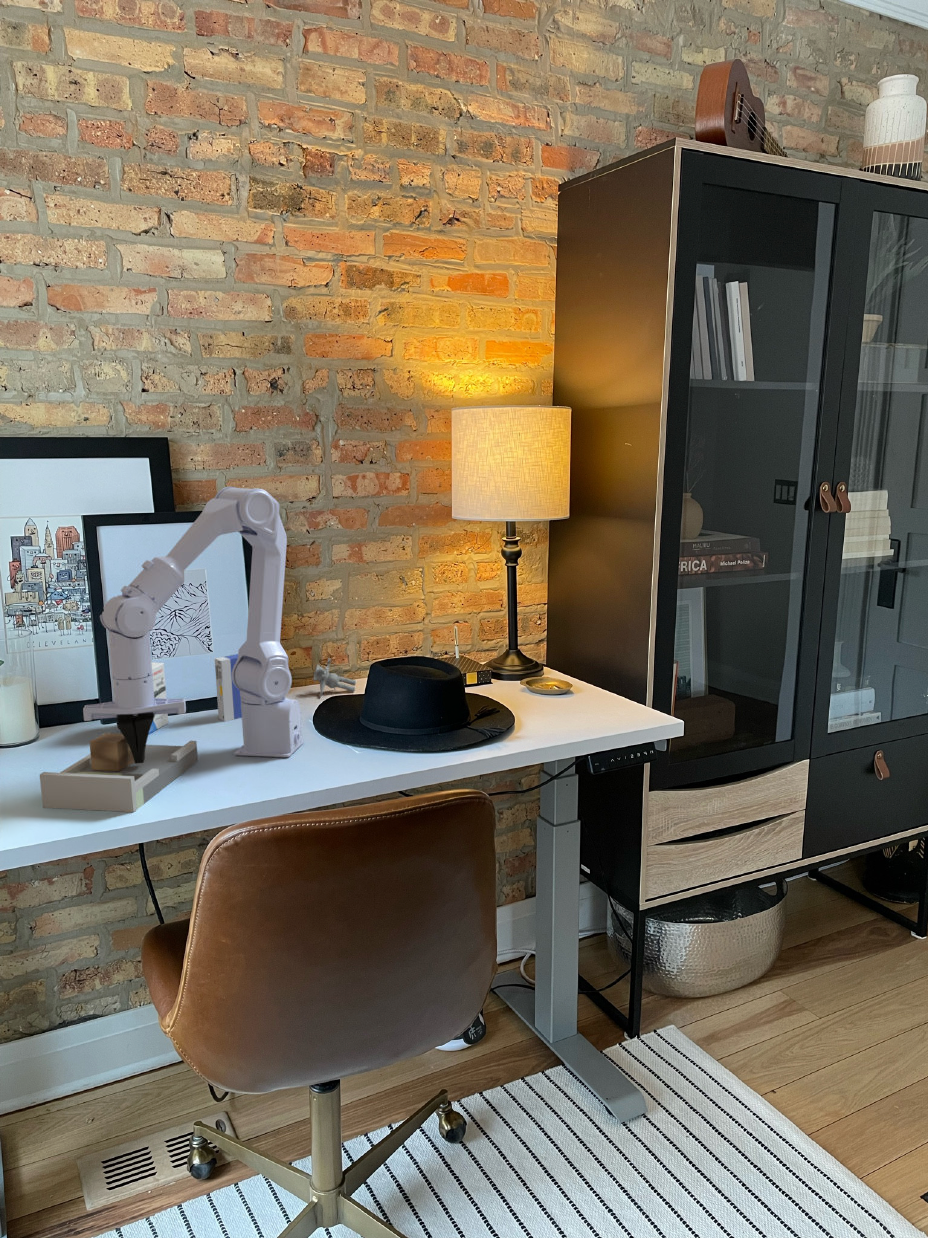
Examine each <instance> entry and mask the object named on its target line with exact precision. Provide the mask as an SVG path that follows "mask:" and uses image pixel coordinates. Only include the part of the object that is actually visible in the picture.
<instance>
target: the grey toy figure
mask: <svg viewBox="0 0 928 1238" xmlns="http://www.w3.org/2000/svg"><path fill="white" fill-rule="evenodd" d="M330 664H331V658H330V657H329V658H328V660H327V662H326V666H325V668H323V667H322V666H320V665H319V664H316V667H315V670H314V671H313V681H315V682H316V681H318V682H319V688H320V692H319V699H321V698H322V696H323V693H324V689H325V687H326V686H327V688H328V687H329V688H330V689H333V690H335V691H337V690H336V688H338V689H342V690H346V691H349V692H352V693H354V692H355V690H356V689H357V686H356V684H357V682H358V681H357V680H355V679H350V678H347V677H344V676H339V675H338V674H337V673H334V672H331V673H330Z"/></svg>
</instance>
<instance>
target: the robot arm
mask: <svg viewBox="0 0 928 1238" xmlns="http://www.w3.org/2000/svg"><path fill="white" fill-rule="evenodd" d="M233 533H239V535H241V536H242V537H243V538H244V539H245V540H246V541H247V543H248V544H250V546H251V547H252V554H251V567H250V568H251V569H250V581H249V582H250V583H249V596H248V597H249V598H248V599H249V600H248V613H247V626H246V627H247V628H246V629H247V630H246V640H245V641H244V643H243V644H242V645H241V646H240V647H239V648H238V653H237V654H238V659H237V662H236V663H235V665H234V667H233V670H232V680H233V683H234V685H235V686H236V687H237V688H238V689H239V690H240V696H241V711H242V717H241V724H242V738H243V739H242V740H243V745H242V746H241V747H239V748H238V749H237V750H236V751H235V752H234V755H235V756H247V757H248V756H249V757H250V756H251V757H252V756H253V757H274V758H289V757H291V755H293V754H294V753H295V752H296V751H297V750H298V749H299V747H301V746H302V744H304V739H303V730H302V729H303V727H302V712H301V710H302V709H301V706H300V703H299V700H297V699H291V698H289V697H286V696H287V695H288V694H289V691H291V687H292V682H293V680H292V679H293V678H292V674H291V671H290V669H289V656H288V654H287V653H286V651H285V649H284V648H283V646H282V644H281V631H282V619H283V618H282V615H283V603H284V587H285V576H286V575H285V573H286V571H285V570H286V561H287V560H286V557H287V543H288V538H287V537H288V536H287V533H286V530H285V527H284V525H283V522H282V518H281V516H280V503H279V501H277V500H276V499H275V498H274V497H273V496H272V494H270V493H269V492H268V491H266V490H265V489H263V488H245V487H243V488H241V487H236V486H225V487H224V488H221V489H220V490H219V491H217V493H216V494H215V495H214V498H211V499H209V500H208V501H207V502H206V504H205V506H204V507H203V510H202V512H201V513H200V515H199V516H198V517H197V518H196V520H194V522H192V524H191V525H190V527H189V528H188V529H187V530H186V532H185V533H184V534H183V535H182V536H181V538H179V540H178V542H176V544H175V545H174V546H173V547H172V549H171V550H170V551H169V552H168V554H166V556H155V557H153V558H152V559H151V560H148V559H146V560H145V561H144V562H143V563H142V564H141V568H143V569H142V571H140V572H139V574H137V576H136V577H135V578H134V579H133V580H132V581H131V582H130V584H128V585H124V586H123V587H122V588H121V589H120V592H121V594H119V595H117V596H113V597H112V598H110V599H109V600H108V601H106V603H105V604H104V606H103V611H102V613H101V614H100V615H99V619H100V620H99V621H100V622H101V624H102V626H103V627H104V628H105V629H106V630H107V631H108V638H109V640H108V641H109V655H110V665H111V668H110V669H111V677H112V678H111V679H112V689H113V696H114V697H113V699H114V701H108V702H103V703H102V702H101V703H95V704H86V705H84V707H83V709H82V710H83V711H82V712H83V720H84V722H86V721H87V722H88V721H90V722H91V721H92V720H97V719H98V720H99V719H112V718H117V719H116V721H117V722H116V727H117V729H118V731H120V734H121V733H122V734H123V736H124V737H125V739H126V741H127V743H128V745H129V747H130V749H131V752H132V754H133V758H134V762H135V764H136V763H144V760H145V748H146V745H147V741H148V738H149V735H150V734H149V730H150V727H151V725H152V722H153V719H154V717H155V715H156V714H168V715H169V714H177V715H185V714H186V711H187V706H186V698H184V697H183V698H182V697H181V698H166V699H165V698H154V687H153V674H152V662H153V661H152V653H151V643H150V640H151V639H150V631H151V630H153V628H154V626H155V624H156V620H157V619H156V617H157V613H158V612H159V611H160V610H161V609H162V608H163V606H164V605H166V603H167V602H168V601H169V600H170V599H171V598H172V597H173V595H175V593H176V592H177V591H178V590H179V589H180V587H181V586H183V584H184V582H185V570H186V569H187V568H188V567H189V566H190V565H191V564H192V563H193V562H194V561H195V560H197V558H198V557H200V555H201V554H203V552H204V551H205V550H206V549H207V548H208V547H209V546H211V545H212V543H214V542H215V540H217V538H218V537H220V536H222V535H227V534H233Z"/></svg>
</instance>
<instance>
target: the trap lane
mask: <svg viewBox="0 0 928 1238" xmlns="http://www.w3.org/2000/svg"><path fill="white" fill-rule="evenodd" d="M197 743H198V742H197V740H190V741H188V742H186V744H184V745H168V744H167V745H166V744H165V745H162V744H146V748H145V760H144V763H136V764H135V762H134V763H132V764H130V765H129V766H127V767H125V768H124V769H122V770H120V771H104V770H92V766H91V753H89V754H88V755H86V756H84V757H82V758H81V759H79V760H78V761H76V762H75V763H73V764H71V765H70V766H68V767H66V768H65V769H63V770H62V771H59V772H53V771H52V772H50V771H49V772H48V771H43V772H41V773H39V774H38V775H39V780H40V783H39V784H40V791H41V800H42V808H47V809H48V808H49V809H53V808H54V809H64V810H65V809H67V810H68V809H69V810H83V811H84V810H88V811H103V812H106V811H107V812H122V813H123V812H124V813H125V812H126V813H127V812H128V813H134V812H136V811H137V810H138V809H139V808H141V807H143V805H144V804H146V803H147V802H148V801H150V800H151V799H152V798H153V797H155V796H156V795H158V793H160V792H161V791H162V790H164V789H165V788H166V787H167V786H169V785H170V784H172V782H174V781H175V780H176V779H178V778H179V777H180V776H181V775H183V773H185V772H186V771H188V770H189V769H190V768H192V766H194V765H195V764H196V763H197V762H199V759H198V757H199V756H198V746H197Z"/></svg>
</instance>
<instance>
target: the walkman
mask: <svg viewBox="0 0 928 1238" xmlns="http://www.w3.org/2000/svg"><path fill="white" fill-rule="evenodd" d="M237 659H238V653H236V654H230V655H225V656H221V657H215V658H214V667H215V683H216V697H217V712H218V713H217V714H218V715H217V716H218V719H219V720H221V721H223V722H228V721H232V720H237V719H240V718H241V719H242V711H241V696H240V690H239V689H238V688H237V687H236V686H235V685H234V683H233V680H232V670H233V667H234V665H235V663H236V662H237Z"/></svg>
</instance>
